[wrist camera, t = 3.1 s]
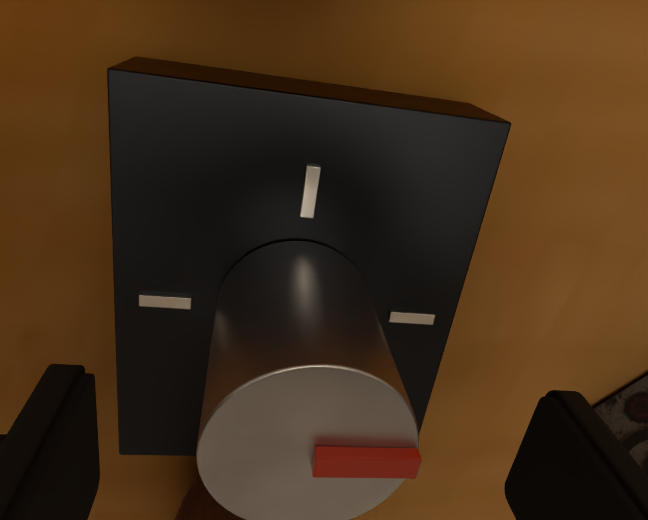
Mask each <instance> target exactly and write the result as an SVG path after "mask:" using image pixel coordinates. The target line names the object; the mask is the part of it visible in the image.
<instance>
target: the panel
mask: <svg viewBox="0 0 648 520" xmlns="http://www.w3.org/2000/svg"><path fill="white" fill-rule="evenodd" d="M107 79H108V111H109V143H110V175H111V207H112V239H113V271H114V303H115V335H116V367H117V399H118V431H119V454H121V455H174V456H196V449H197V442H198V435H199V428H200V420H201V413H202V406H203V399H204V392H205V384H206V377H207V370H208V363H209V355H210V348H211V341H212V334H213V327H214V319H215V312H216V305H217V298H218V294H219V291H220V287H221V285H222V283H223V281H224V279H225V278H226V276H227V275H228V273H229V272H230V270H231V269H232V268H233V267H234V266H235V265H236V264H237V263H238V262H239V261H240V260H242V259H243V258H244V257H246V256H247V255H249V254H250V253H252V252H253V251H255V250H258V249H260V248H262V247H264V246H267V245H270V244H274V243H279V242H285V241H306V242H313V243H317V244H320V245H324V246H326V247H328V248H331V249H333V250H335V251H336V252H338V253H340V254H341V255H343V256H344V257H345V258H347V259H348V260H349V261H350V262H351V263H352V264H353V265H354V266H355V268H356V269H357V270H358V272H359V273H360V275H361V277H362V279H363V281H364V283H365V286H366V288H367V291H368V294H369V296H370V299H371V302H372V304H373V307H374V309H375V312H376V315H377V317H378V320H379V322H380V325H381V328H382V330H383V333H384V336H385V338H386V341H387V343H388V346H389V349H390V351H391V354H392V357H393V359H394V362H395V364H396V367H397V370H398V372H399V375H400V377H401V380H402V383H403V385H404V388H405V391H406V393H407V396H408V398H409V401H410V404H411V406H412V409H413V411H414V414H415V417H416V420H417V424H418V431H419V433H420V429H421V426H422V423H423V419H424V416H425V412H426V409H427V406H428V402H429V399H430V396H431V392H432V389H433V386H434V382H435V379H436V375H437V372H438V369H439V365H440V362H441V359H442V355H443V352H444V349H445V345H446V342H447V338H448V335H449V332H450V328H451V325H452V322H453V318H454V315H455V312H456V308H457V305H458V302H459V298H460V295H461V291H462V288H463V285H464V281H465V278H466V275H467V271H468V268H469V265H470V261H471V258H472V254H473V251H474V248H475V244H476V241H477V238H478V234H479V231H480V228H481V224H482V221H483V217H484V214H485V211H486V207H487V204H488V201H489V197H490V194H491V191H492V187H493V184H494V181H495V177H496V174H497V170H498V167H499V164H500V160H501V157H502V154H503V150H504V147H505V144H506V140H507V137H508V133H509V130H510V127H511V123H510V122H508V121H506V120H504V119H502V118H500V117H498V116H495V115H493V114H491V113H489V112H487V111H485V110H483V109H480V108H478V107H476V106H474V105H472V104H470V103H464V102H457V101H449V100H442V99H435V98H428V97H421V96H414V95H407V94H400V93H393V92H385V91H378V90H371V89H364V88H357V87H350V86H343V85H336V84H329V83H321V82H314V81H307V80H300V79H293V78H286V77H279V76H272V75H264V74H257V73H250V72H243V71H236V70H229V69H222V68H215V67H208V66H200V65H193V64H186V63H179V62H172V61H165V60H158V59H151V58H143V57H133V58H131V59H129V60H126V61H124V62H122V63H119V64H117V65H114V66H112V67H110V68H108V69H107Z"/></svg>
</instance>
